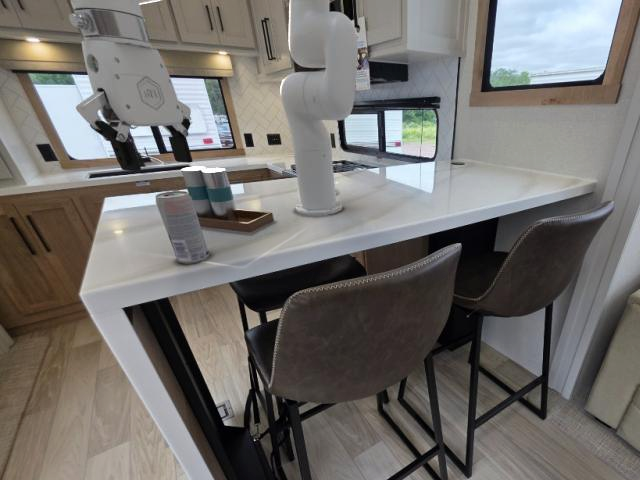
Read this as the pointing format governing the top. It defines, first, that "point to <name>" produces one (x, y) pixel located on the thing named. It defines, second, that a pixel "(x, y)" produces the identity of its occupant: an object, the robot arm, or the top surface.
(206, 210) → the can
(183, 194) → the energy drink
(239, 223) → the drinks tray
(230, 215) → the can
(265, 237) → the top surface
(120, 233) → the top surface
